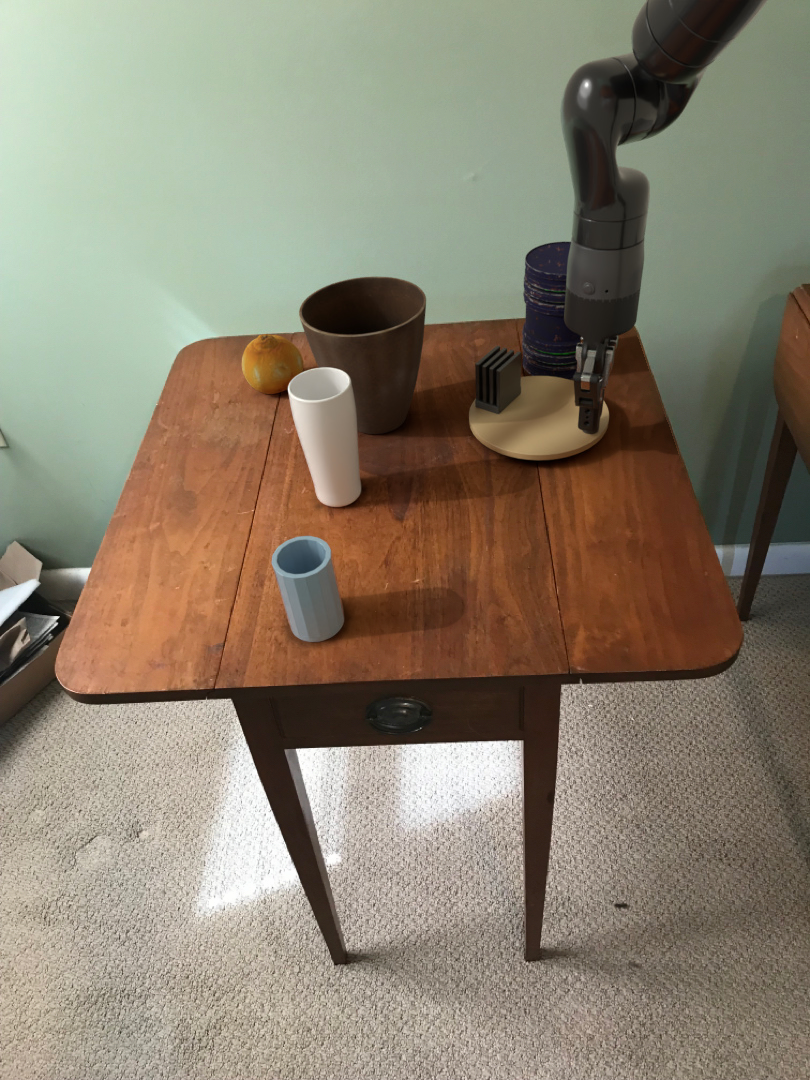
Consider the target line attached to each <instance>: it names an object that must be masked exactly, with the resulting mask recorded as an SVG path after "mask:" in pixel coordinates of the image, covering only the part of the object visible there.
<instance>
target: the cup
mask: <svg viewBox="0 0 810 1080" xmlns="http://www.w3.org/2000/svg"><path fill="white" fill-rule="evenodd" d="M271 567H272V570H273V573H274V577H275V581H276V585H277V588H278V591H279V594H280V598H281V601H282V605H283V609H284V611H285V616H286V618H287V622H288V625H289V628H290V630H291V632H292V634H293V635H294V636H295V638H297V639H299V640H301V641H303V642H307V643H320V642H323V641H326V640H329V639H331V638H333V637H334V636H335V635H336V634H338V632H340V631H341V629H342V627H344V626H343V625H344V623H345V612H344V611H345V609H344V606H343V601H342V596H341V591H340V586H339V581H338V576H337V572H336V567H335V562H334V558H333V552H332V549H331V547H330V545H329V543H328V542H327V541H326V540H324V539H322V538H320V537H317V536H312V535H300V536H299V535H298V536H295V537H293V538H290V539H288V540H285V541H284V542H283V543H281V544H280V545H278V546H277V548H276V549H275V550H274V552H273V553H272V555H271Z"/></svg>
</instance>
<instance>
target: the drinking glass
mask: <svg viewBox="0 0 810 1080" xmlns="http://www.w3.org/2000/svg"><path fill="white" fill-rule="evenodd" d="M287 393H288V400H289V406H290V411H291V416H292V420H293V423H294V427H295V430H296V433H297V436H298V439H299V443H300V446H301V448H302V451H303V454H304V455H303V456H304V457H305V461H306V464H307V466H308V470H309V473H310V477H311V480H312V483H313V486H314V492H315V495H316V498H317V500H318V501H319V502H320V503H321V504H323V505H325V506H327V507H332V508H341V507H347V506H349V505H351V504H352V503H355V501H357V500H358V498H359V497H360V495H361V493H362V481H361V473H360V471H361V470H360V455H359V435H358V434H359V433H358V432H359V431H357V414H356V405H355V398H354V393H353V388H352V383H351V379H350V377H349V375H348V374H347V373H345V372H344V371H342V370H339V369H336V368H328V367H323V368H319V367H315V368H311V369H308V370H305V371H303V372H302V373H300V374H299V375H297V376H296V377H294V378H293V379H292V380H291V382H290V383H289V385H288V389H287Z"/></svg>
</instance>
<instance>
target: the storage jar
mask: <svg viewBox="0 0 810 1080" xmlns="http://www.w3.org/2000/svg"><path fill="white" fill-rule="evenodd" d="M570 246H571V241H553V242H548V243H543V244H540V245H538V246H536V247H534V248H532V249H530V250H529V251H528V252H527V253H526V255H525V258H524V267H525V268H524V276H523V293H522V295H523V301H524V304H525V320H524V321H525V322H524V323H523V326H522V331H521V335H522V338H521V339H522V340H521V344H522V345H521V347H522V367H523V369H524V370H525V372H527V373H528V374H529V375H530V376H551V377H559V378H564V379H568V380H572V381H574V380H573V376H574V375H575V372H576V370H577V360H576V358H575V356H576V347H577V343H580V342H581V336H580V335H579V334H577V333H575V332H573V331H571V330H570V329H569V328H568V327H567V326H566V324H565V322H564V310H565V295H566V278H567V263H568V255H569V250H570Z"/></svg>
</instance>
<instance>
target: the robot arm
mask: <svg viewBox="0 0 810 1080" xmlns="http://www.w3.org/2000/svg"><path fill="white" fill-rule="evenodd" d="M768 1H769V0H645V2H643V4H642V6H641V7H640V9H639V11H638V13H637V15H636V17H635V19H634V21H633V24H632V28H631V35H630V39H631V40H630V44H631V52H629V53H624V54H623V53H622V54H618V55H614V56H609V57H605V58H599V59H595V60H591V61H588V62H586V63H583V64H581V65H580V66H579V67H577V68H576V69H575V70H574V71H573V73H572V74H571V76H570V77H569V79H568V80H567V83H566V85H565V87H564V90H563V93H562V98H561V101H560V110H559V113H560V114H559V116H560V117H559V118H560V119H559V120H560V127H561V131H562V137H563V142H564V147H565V151H566V157H567V162H568V168H569V174H570V178H571V185H572V189H573V199H574V200H573V209H572V210H573V211H572V223H571V224H572V226H571V240H570V242H571V246H570V250H569V255H568V263H567V278H566V295H565V310H564V322H565V324H566V326H567V327H568V328H569V329H570V330H571V331H573V332H575V333H577V334H579V335H580V336H581V342H580V343H577V347H576V356H575V358H576V360H577V370H576V372H575V375H574V376H573V380H572V381H574V394H575V406H579V418H578V428H579V429H580V430H586V431H596V430H597V427H598V420H599V411H600V404H601V402H602V406H601V415H602V410H603V401H604V402H605V392H606V391H605V389H607V386H609V380H610V379H609V377H610V374H611V373H612V371H613V367H614V363H615V353H616V352H617V347H618V345H619V336H622V335H624V334H626V333H628V332H630V330H632V329H633V328H634V327H635V325H636V323H637V320H638V319H637V318H638V311H639V303H640V296H641V287H642V282H643V281H642V279H643V272H644V265H645V238H646V237H645V235H646V231H647V230H646V228H647V220H648V213H649V206H650V197H651V184H650V180H649V178H648V176H647V175H646V174H645V173H644V172H642V171H641V170H639V169H637V168H633V167H627V166H618V161H617V150H618V147H621V146H625V145H628V144H631V143H632V144H633V143H636V142H640V141H644V140H648V139H651V138H654V137H655V136H658V135H660V134H661V133H662V132H664V131H665V130H667V129H668V128H669V127H670V126H672V124H674V123H675V122H676V121H677V120H678V119H679V118H680V116H681V115H683V112H684V111H685V110H686V108H687V107H688V104H689V103H690V101H691V99H692V97H693V95H694V94H695V92H696V90H697V89H698V87H699V85H700V84H701V81H702V79H703V78H704V76H705V73H706V71H707V69H708V68H709V67H710V65H712V64H713V63H714V62H715V61H716V60H717V59H718V58H719V57H720V56H721V54H723V52H724V51H726V49H727V48H728V47H729V46H730V45H731V44H732V43H733V42H734V41H735V40H736V39H737V38H738V36H739V35H740V34H742V33H743V31H744V30H745V29H746V28H747V27H748V26H749V25H750V24H751V23H752V22H753V20H754V19H755V18H756V17H757V16H758V14H759V13H760V12H761V11H762V10H763V8H764V7H765V6H766V4H767V3H768ZM602 390H603V397H602ZM601 415H600V417H601Z"/></svg>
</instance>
